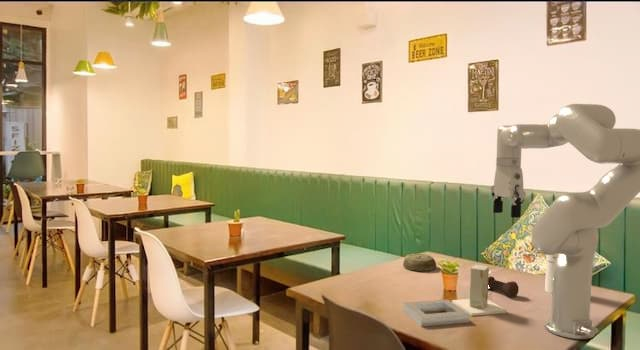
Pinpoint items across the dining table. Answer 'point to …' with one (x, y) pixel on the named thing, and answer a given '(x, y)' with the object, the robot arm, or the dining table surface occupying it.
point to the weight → (419, 262)
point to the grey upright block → (479, 286)
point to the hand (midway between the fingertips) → (506, 214)
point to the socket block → (450, 317)
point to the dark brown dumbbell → (504, 287)
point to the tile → (488, 309)
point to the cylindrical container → (549, 272)
